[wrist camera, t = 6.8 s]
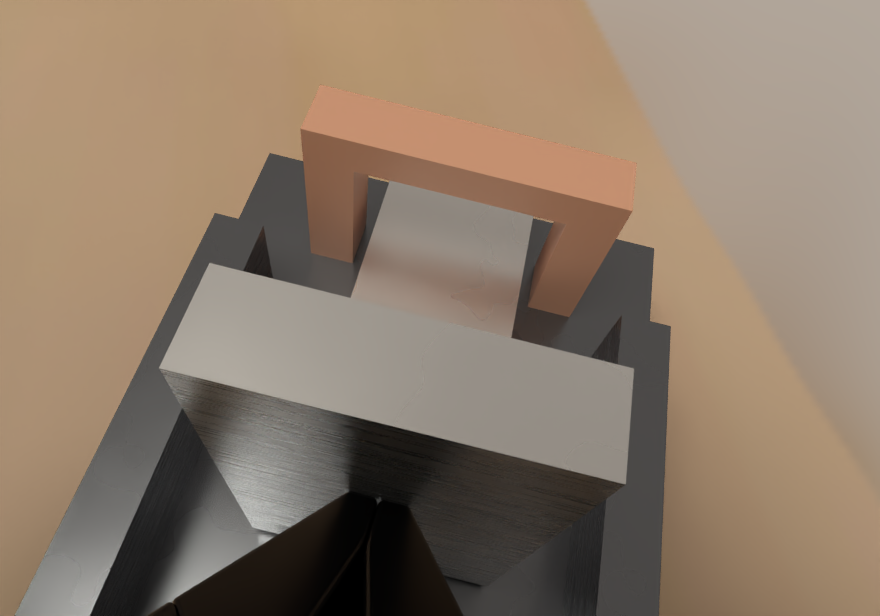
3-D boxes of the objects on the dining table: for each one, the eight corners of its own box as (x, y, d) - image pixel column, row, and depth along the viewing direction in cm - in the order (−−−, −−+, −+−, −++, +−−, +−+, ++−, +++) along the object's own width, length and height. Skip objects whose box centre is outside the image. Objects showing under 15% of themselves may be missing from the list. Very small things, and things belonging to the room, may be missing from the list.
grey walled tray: (546, 860, 14) (667, 962, 9) (75, 741, 14) (-89, 772, 9) (601, 323, 20) (689, 198, 15) (282, 244, 20) (261, 92, 15)
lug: (569, 317, 16) (632, 211, 12) (310, 253, 16) (300, 128, 12) (575, 275, 16) (636, 163, 13) (326, 213, 16) (320, 84, 13)
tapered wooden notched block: (487, 586, 12) (625, 484, 6) (253, 527, 12) (158, 368, 6) (554, 179, 17) (667, -97, 11) (389, 138, 17) (411, -159, 11)
